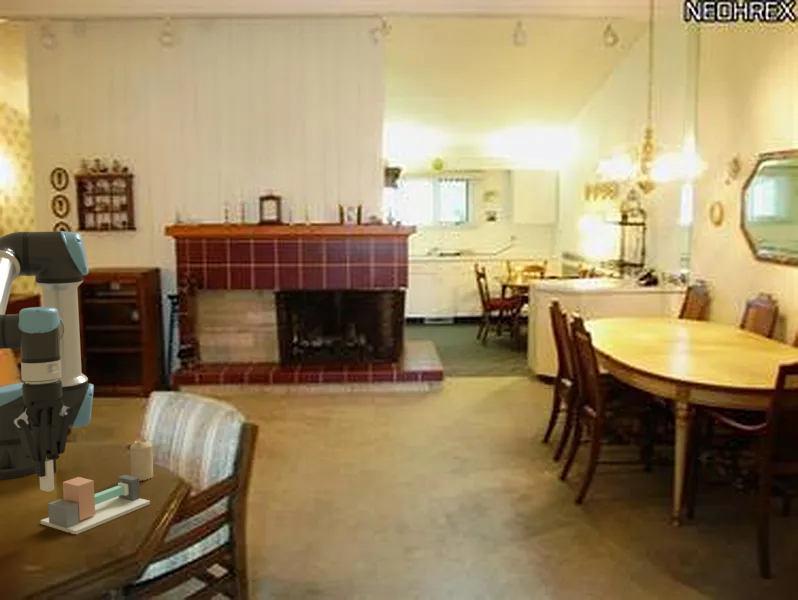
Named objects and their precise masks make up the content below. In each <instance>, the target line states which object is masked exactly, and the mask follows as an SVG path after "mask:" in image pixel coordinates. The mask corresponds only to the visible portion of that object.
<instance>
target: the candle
mask: <svg viewBox="0 0 798 600" xmlns="http://www.w3.org/2000/svg"><path fill="white" fill-rule="evenodd" d="M129 456H130V457H129V458H130V476H133V477H137V478H139V482H140V481H141V482H143V481H147V479H148V480H150V478H151V479H152V478H153V477H154V460H153V444H152V443H151V442H150V441H149V440H147V439H145V438H142V439H141V438H140V439H138V440H134V441H133V443H131V445H130V446H129ZM142 480H143V481H142Z"/></svg>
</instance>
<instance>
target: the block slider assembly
mask: <svg viewBox="0 0 798 600" xmlns="http://www.w3.org/2000/svg"><path fill="white" fill-rule="evenodd" d="M140 490H141V489H140V481H139V478H137V477H133V476H131V475H128V474H123V475H120V476H117V485H115V486H112V487H110V488H107V489H105V490H102V491H100V492H96V493H94V496H95V515H94V516H91V517H89V518H86V519H83V520H81V521H79V514H78V504H76V503H74V502H69V501H66V500H64V499H61V498H59V499H57V500H54V501H51V502H48V503H47V506H48V508H47V509H48V517H46V518H42V519H40V525H44V526H47V527H50V528H53V529H55V530H60V531H63V532H66V533H69V532H70V533H69V534H73V535H75V534H76V535H79V534H81V533H84V532H86V531H88V530H91V529H93V528H96V527H98V526H101V525H103V524H105V523H108V522H111V521H113V520H115V519H118V518H119V517H122V516H125V515H127V514H129V513H132V512H134V511H137V510H140V509H141V508H144V507H146V506H149V505H150V504H151V500H148V499H144V498H141V496H140V495H141V494H140V493H141V491H140Z"/></svg>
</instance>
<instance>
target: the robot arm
mask: <svg viewBox="0 0 798 600" xmlns="http://www.w3.org/2000/svg"><path fill="white" fill-rule="evenodd" d="M88 274H89V264H88V258H87V252H86V248H85V244H84V240H83V238H82V235H81V234H79V233H78V232H74V231H63V230H61V231H16V232H11V233H8V234H6V235H3V236H0V350H4V349H20V357H21V358H20V366H21V367H20V373H21V374H20V375H21V380H22V381H23V382H17V383H13V384H7V385H3V386H0V480H10V479H16V478H23V477H25V476H30V475H34V474H36V476H37V477H39V490H40V491H44V492H47V493H48V492H51V491H55V474H56V473H57V470H58V469H57V460H59V458H60V455H61V454H64V453H65V451H66V445H67V439H68V433H69V429H74V428H81V427H85V426H88V425H89V423H90V422H91V419H92V408H93V401H94V400H93V399H94V388H95V387H94V383H93V384H92V383H89V379H88V377H87V375H85V374H84V373H82V372H83V371H82V355H81V354H82V353H81V337H80V315H79V312H80V311H79V299H78V297H79V295H78V287H79V286H80V285H82V283H83V282H84V276H87V275H88ZM18 277H35V278H34V280H35V284H36V285H38V287H40V288H41V289H42V305H43V306H35V307H34V306H33V307H27V308H26V307H25V308H21V310H19V313H15V314H14V313H13V314H7V313H6V311H7V306H8V302H9V298H10V295H11V290H12V287H13V282H14V281H15V280H16V279H18Z"/></svg>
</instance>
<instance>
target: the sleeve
mask: <svg viewBox="0 0 798 600" xmlns="http://www.w3.org/2000/svg"><path fill="white" fill-rule="evenodd" d="M62 488H63V489H62V490H63V492H62V493H63V500H66V501H69V502H74V503H76V504H78V514H79V521H81V520H83V519H86V518H89V517H91V516H94V515H95V496H94V494H95V480H93V479H90V478H84V477H81V476H77V477H73V478H71V479H68V480H65V481H63V482H62Z"/></svg>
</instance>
